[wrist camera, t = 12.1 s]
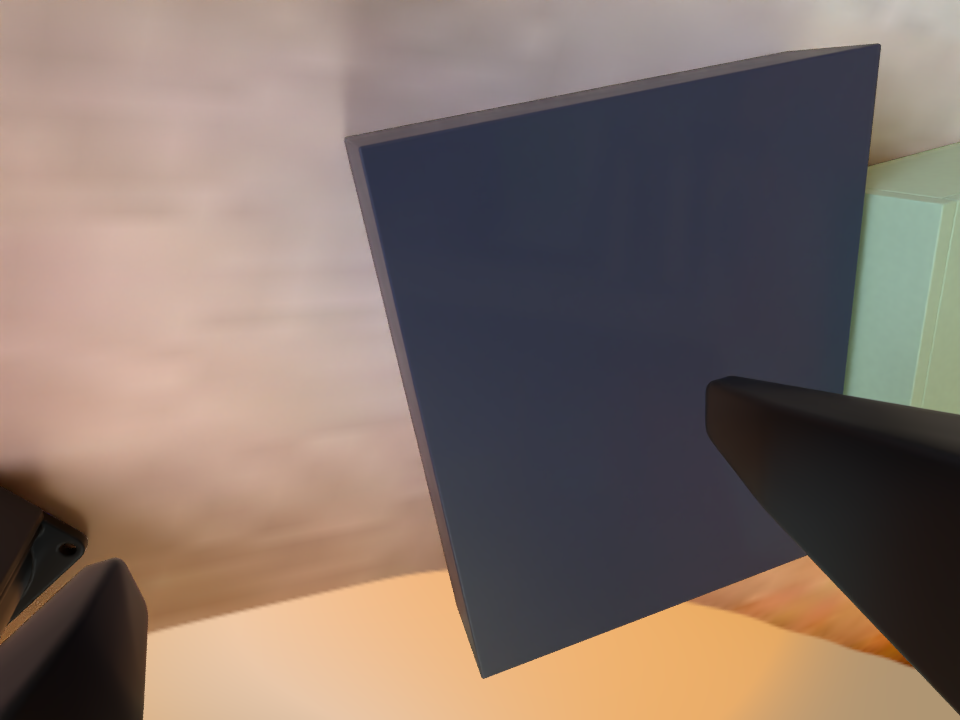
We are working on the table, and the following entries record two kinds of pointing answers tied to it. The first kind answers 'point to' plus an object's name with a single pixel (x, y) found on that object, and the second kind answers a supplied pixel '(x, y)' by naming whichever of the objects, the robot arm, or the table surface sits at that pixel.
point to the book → (613, 325)
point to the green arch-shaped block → (909, 284)
